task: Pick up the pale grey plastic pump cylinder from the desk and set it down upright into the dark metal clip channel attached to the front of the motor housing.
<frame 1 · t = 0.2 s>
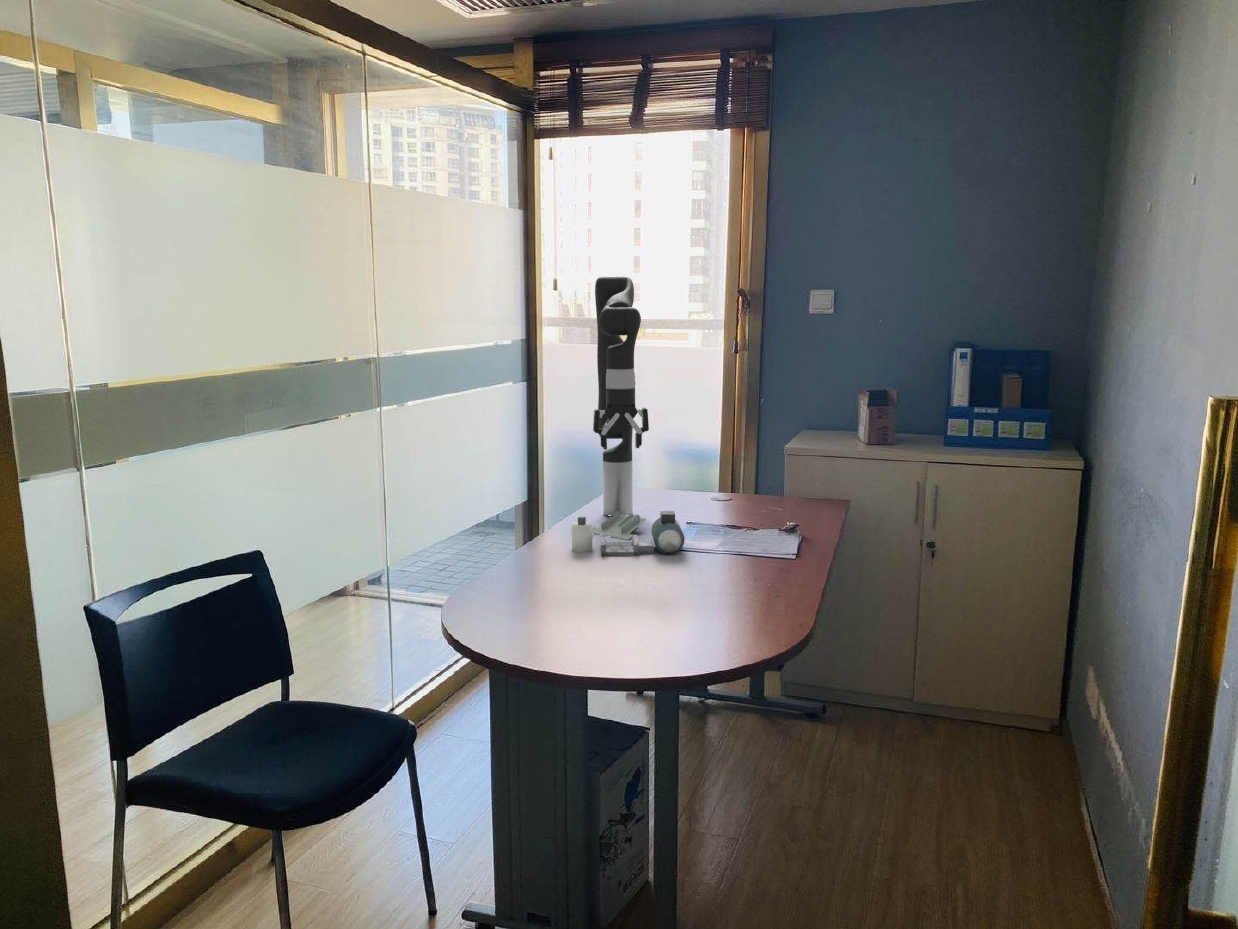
hand: (621, 448, 231), 28 cm above the table, tool pointing down, fingers open, 8 cm apart
motor: (637, 550, 239), on the table
metal bracket: (619, 534, 258), on the table
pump: (582, 549, 240), on the table
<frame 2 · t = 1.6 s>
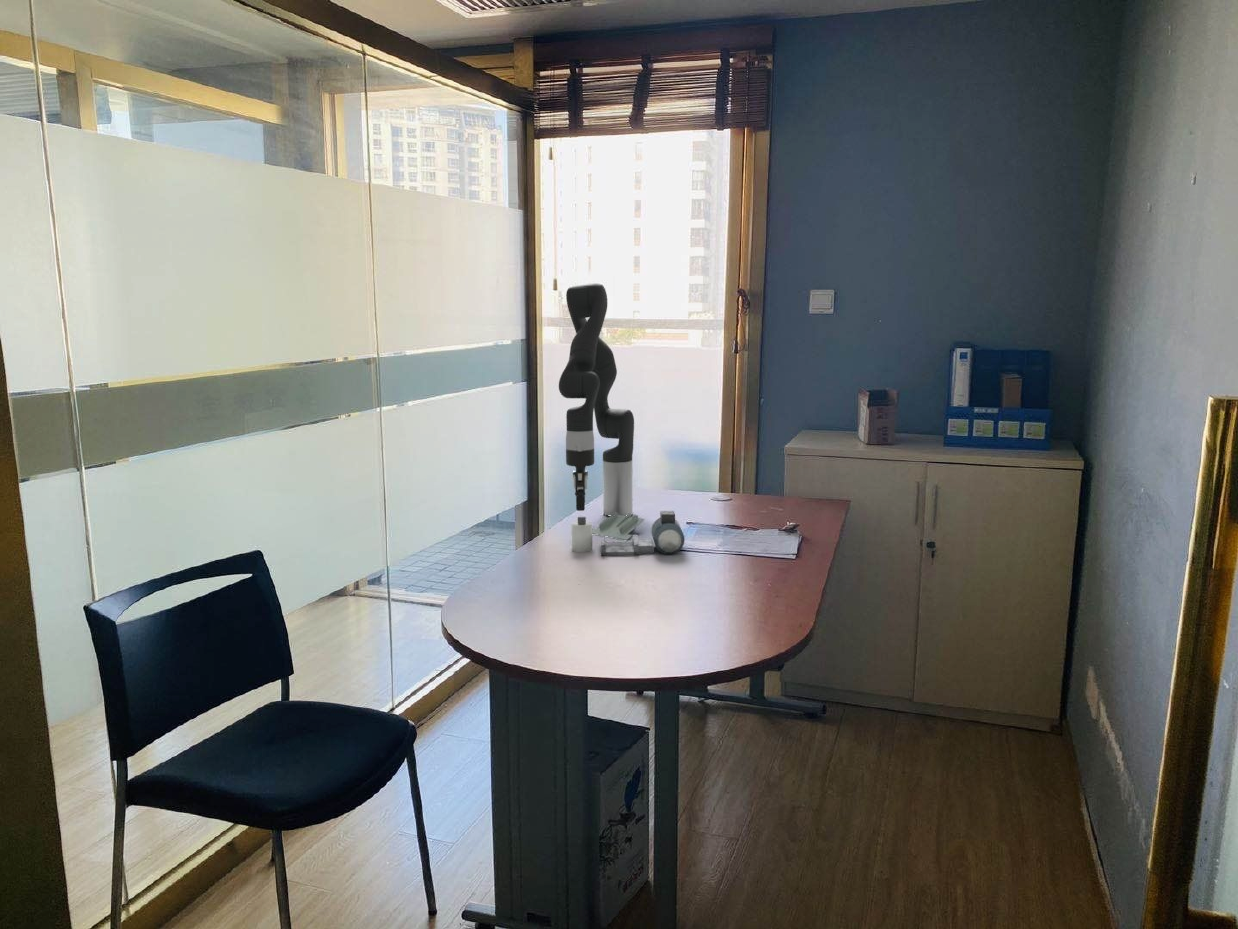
hand: (580, 506, 238), 12 cm above the table, tool pointing down, fingers open, 8 cm apart
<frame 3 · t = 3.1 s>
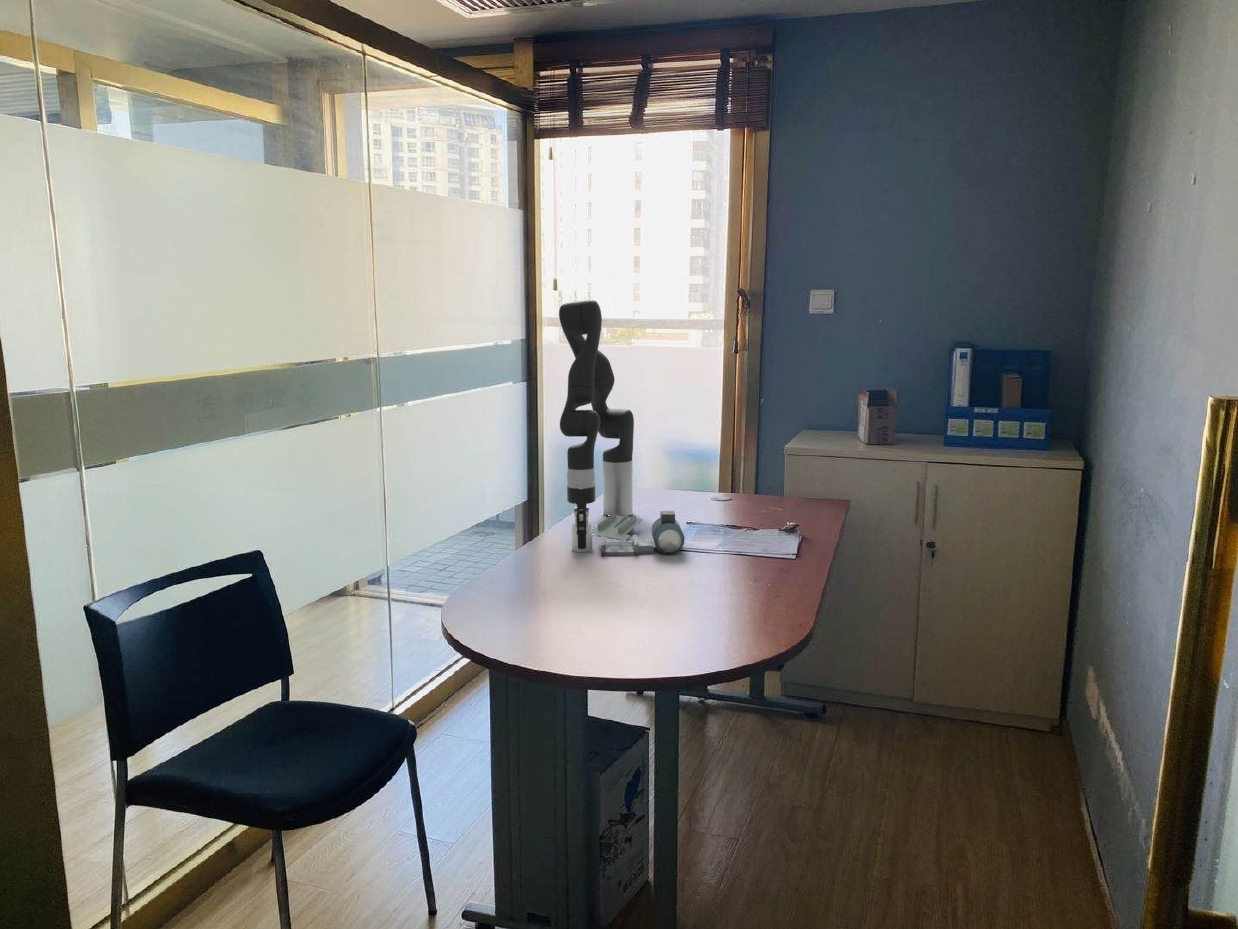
hand: (582, 545, 240), 1 cm above the table, tool pointing down, fingers closed on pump, 5 cm apart
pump: (582, 549, 240), on the table, touching gripper
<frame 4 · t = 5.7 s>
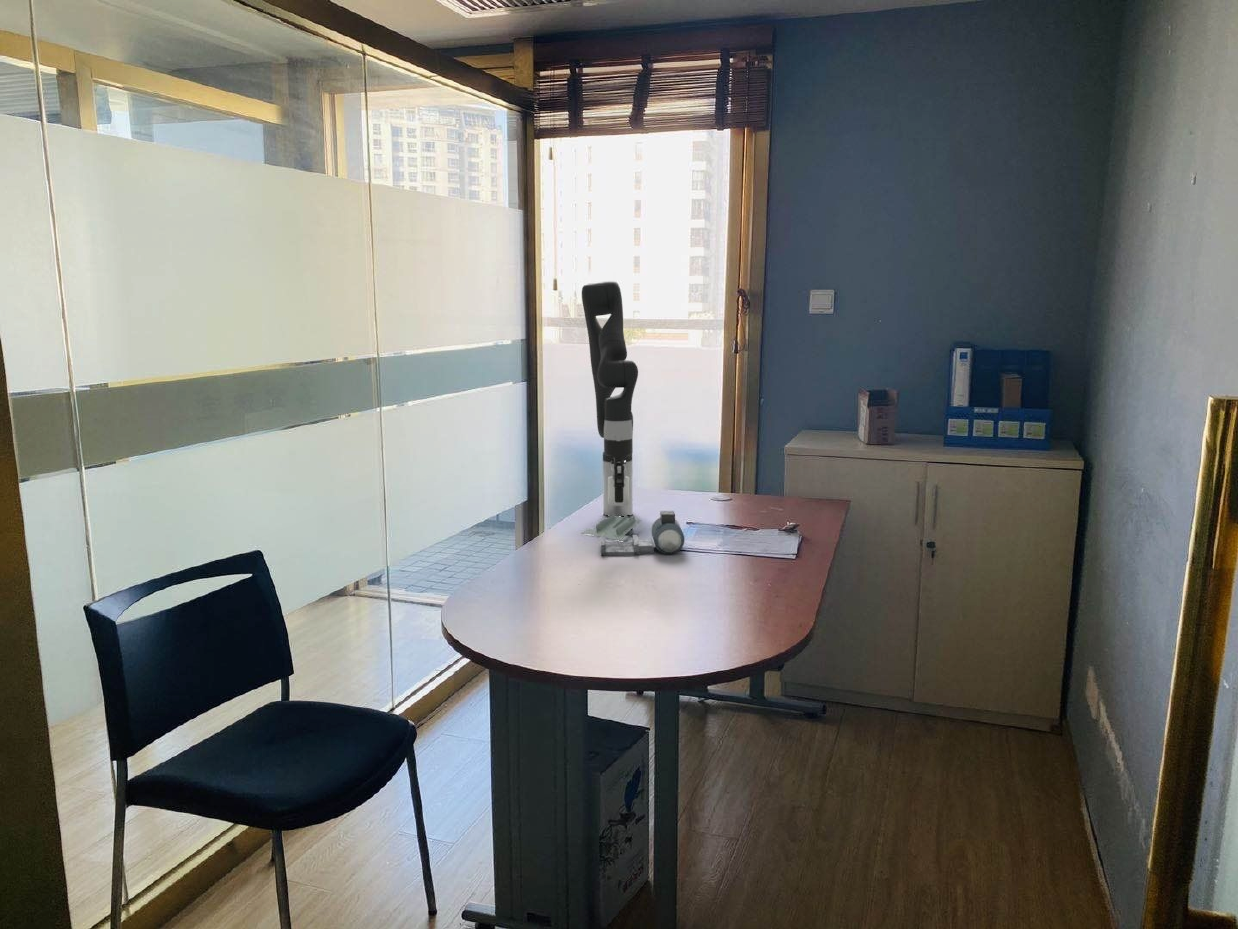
hand: (618, 499, 236), 14 cm above the table, tool pointing down, fingers closed on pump, 5 cm apart
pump: (618, 503, 237), point 13 cm above the table, touching gripper
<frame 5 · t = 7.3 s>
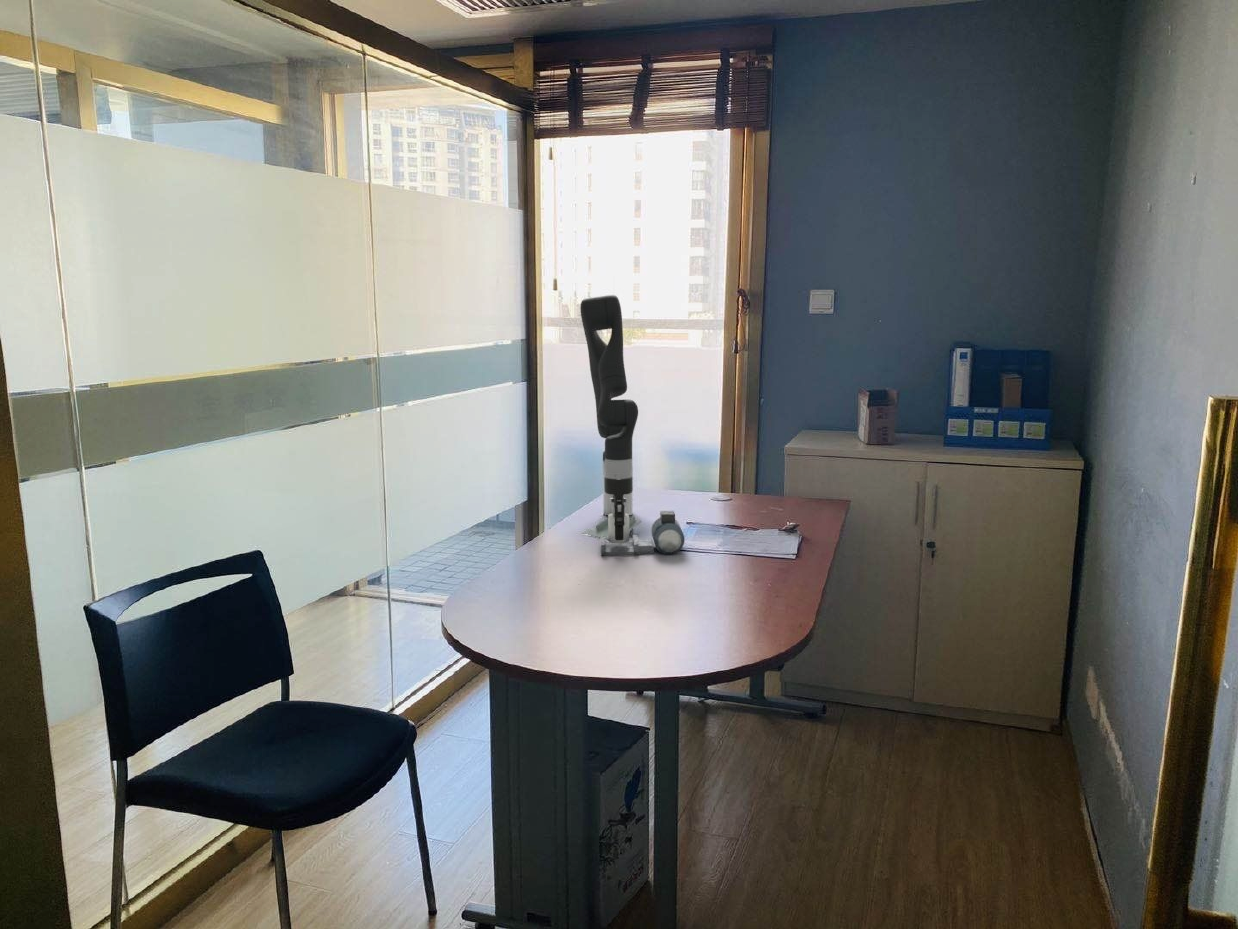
hand: (618, 536, 238), 4 cm above the table, tool pointing down, fingers closed on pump, 5 cm apart
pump: (618, 540, 238), point 3 cm above the table, touching gripper
when the fingers open (3 cm above the table, at t = 8.4 s): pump stays where it is, resting on motor.
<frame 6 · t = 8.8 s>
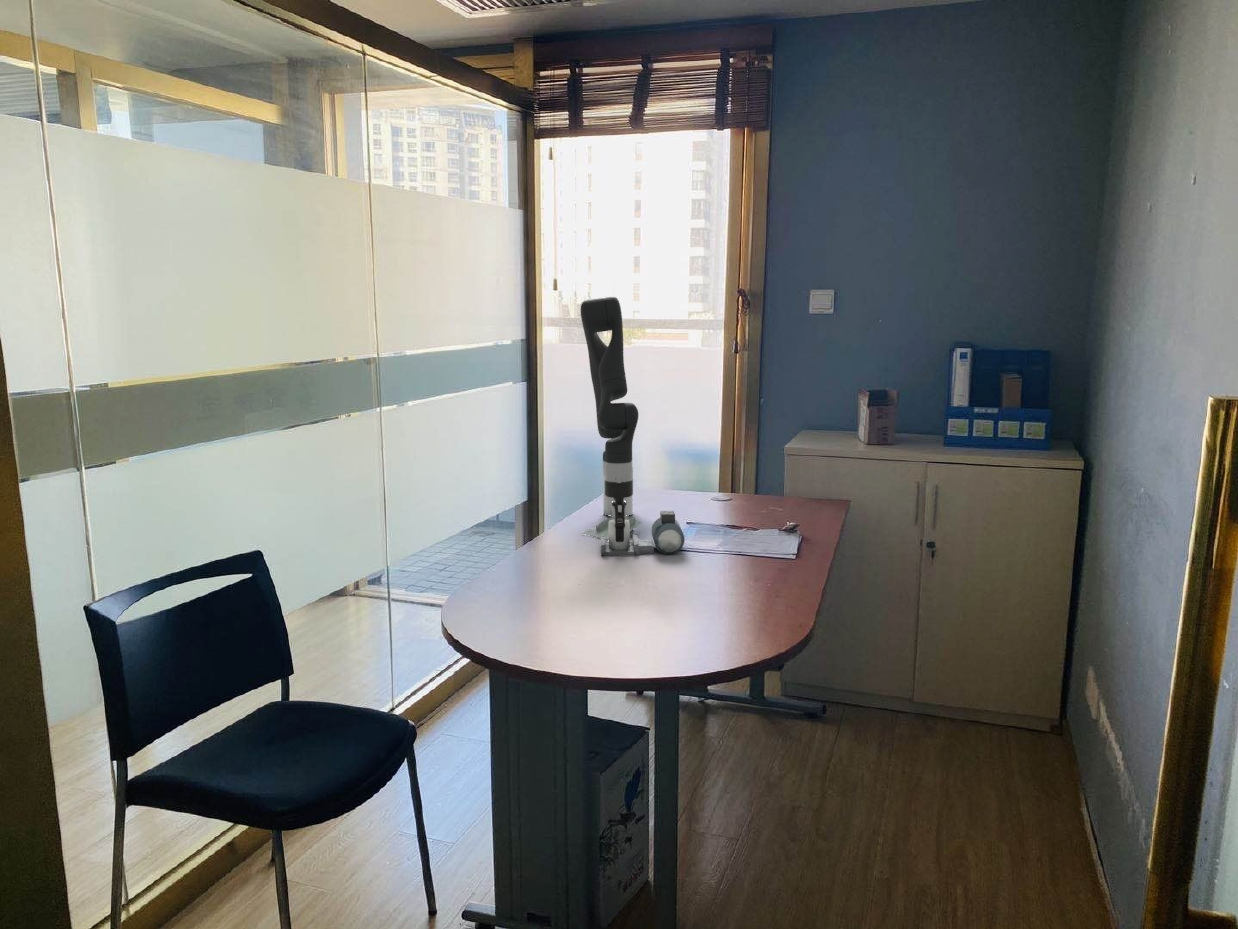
hand: (619, 537, 238), 4 cm above the table, tool pointing down, fingers open, 8 cm apart
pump: (619, 546, 239), point 1 cm above the table, touching motor
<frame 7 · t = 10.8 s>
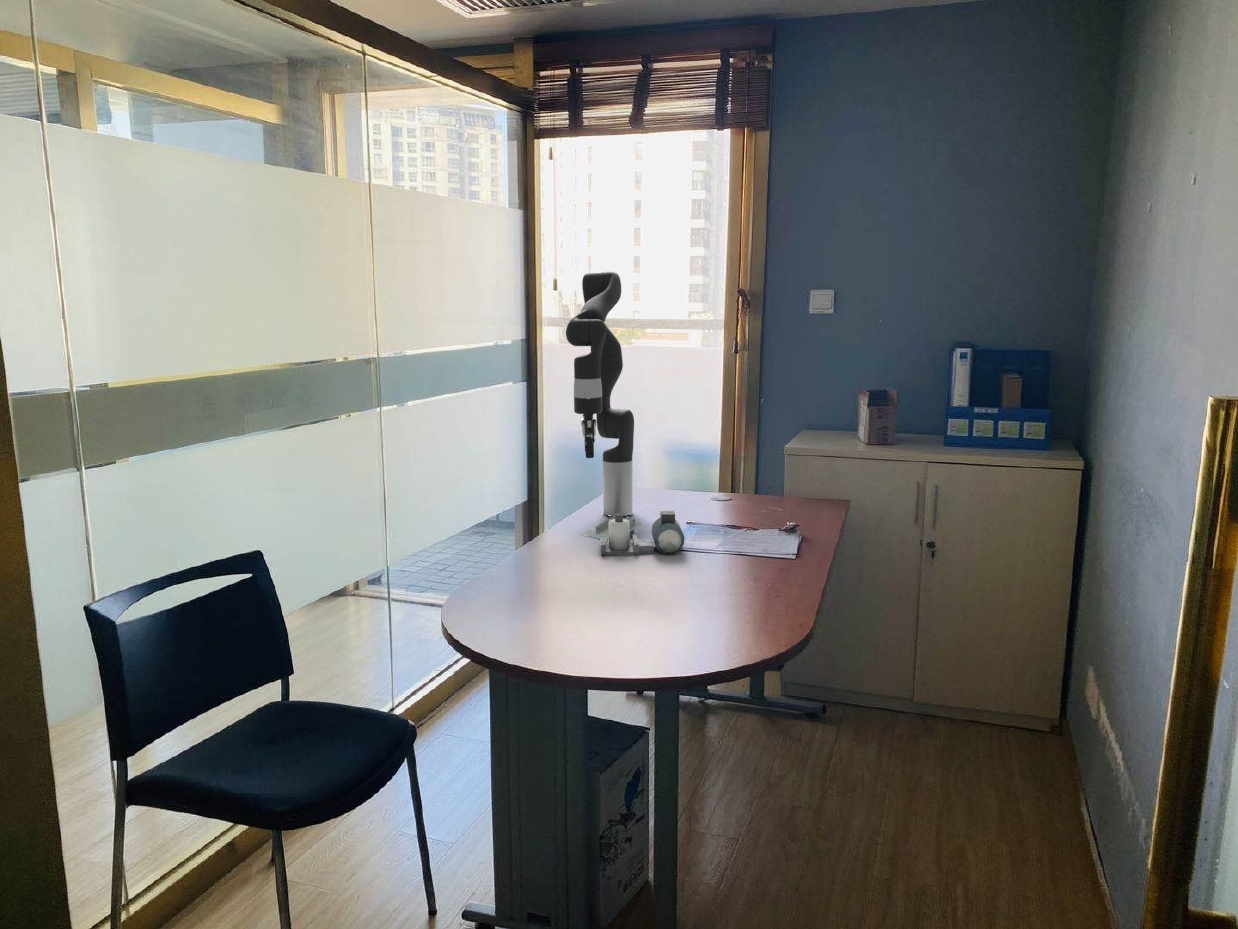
hand: (589, 454, 240), 25 cm above the table, tool pointing down, fingers open, 8 cm apart
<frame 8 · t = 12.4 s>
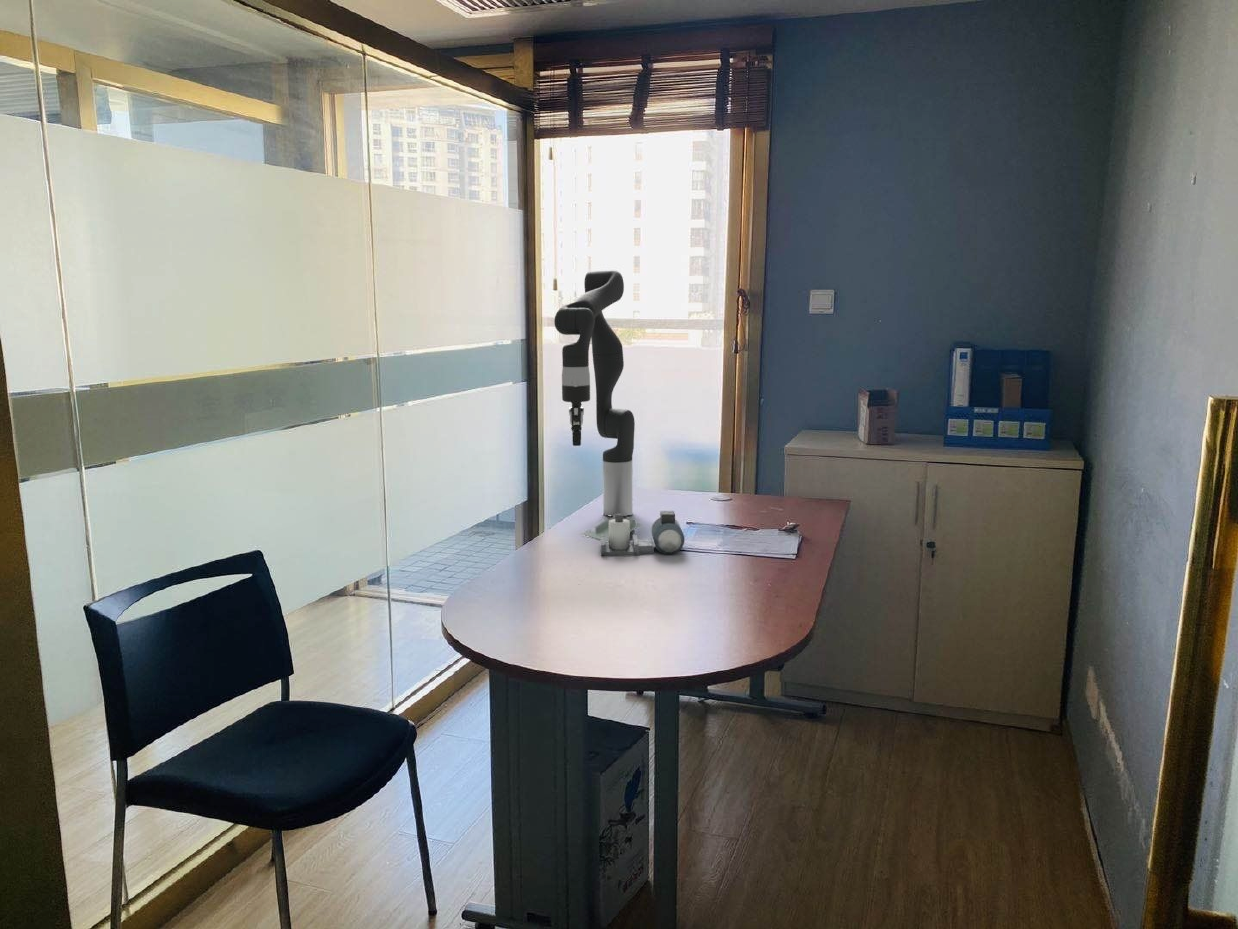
hand: (577, 443, 241), 28 cm above the table, tool pointing down, fingers open, 8 cm apart
at the end: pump inside the target area (0.2 cm from its centre), point 1.0 cm above the table; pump tilted 0°; the gripper is holding nothing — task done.
